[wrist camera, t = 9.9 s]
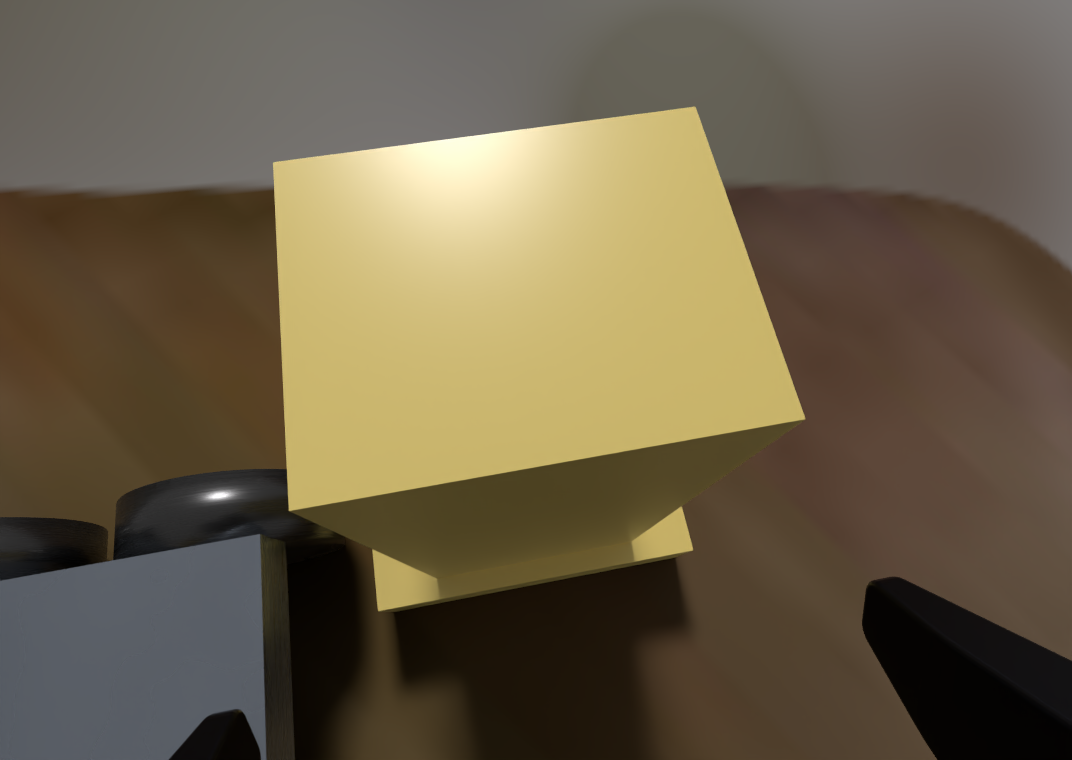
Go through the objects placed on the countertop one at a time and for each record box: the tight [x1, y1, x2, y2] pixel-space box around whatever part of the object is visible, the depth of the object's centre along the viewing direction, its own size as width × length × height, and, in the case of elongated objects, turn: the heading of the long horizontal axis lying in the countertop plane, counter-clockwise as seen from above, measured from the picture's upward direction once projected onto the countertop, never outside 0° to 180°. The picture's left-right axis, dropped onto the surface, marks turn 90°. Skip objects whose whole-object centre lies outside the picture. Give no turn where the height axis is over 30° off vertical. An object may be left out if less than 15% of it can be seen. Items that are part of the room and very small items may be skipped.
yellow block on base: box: [273, 107, 805, 612], centre depth 12 cm, size 5×8×12 cm, turn 101°
